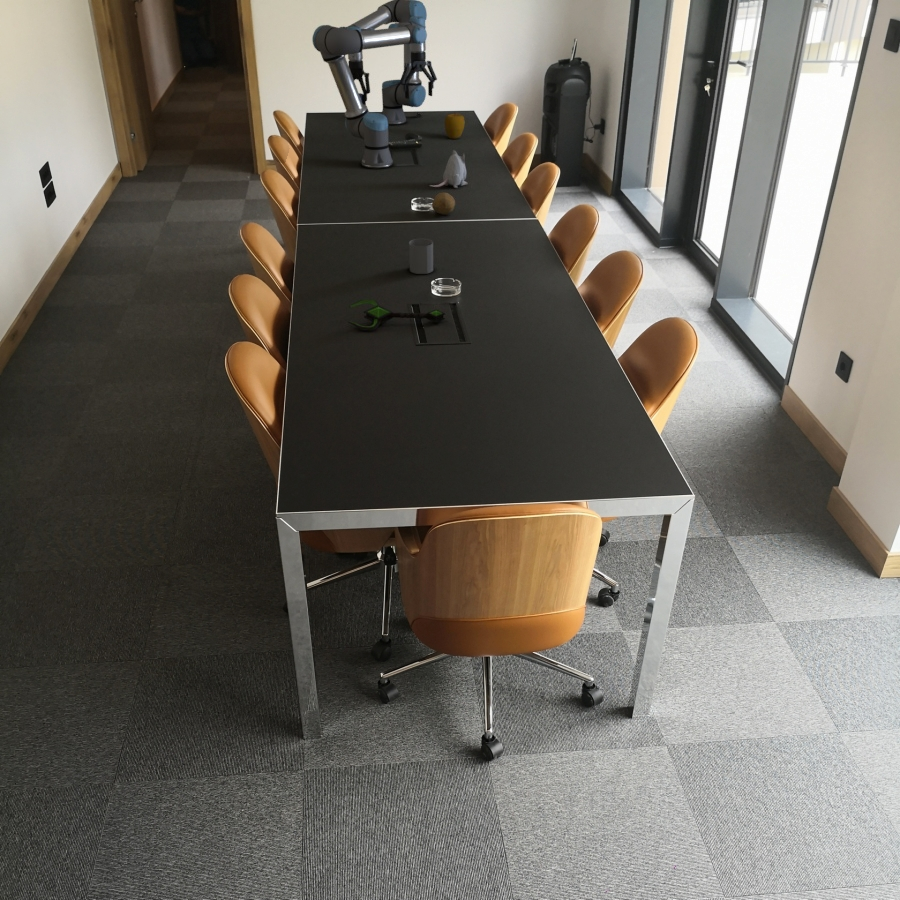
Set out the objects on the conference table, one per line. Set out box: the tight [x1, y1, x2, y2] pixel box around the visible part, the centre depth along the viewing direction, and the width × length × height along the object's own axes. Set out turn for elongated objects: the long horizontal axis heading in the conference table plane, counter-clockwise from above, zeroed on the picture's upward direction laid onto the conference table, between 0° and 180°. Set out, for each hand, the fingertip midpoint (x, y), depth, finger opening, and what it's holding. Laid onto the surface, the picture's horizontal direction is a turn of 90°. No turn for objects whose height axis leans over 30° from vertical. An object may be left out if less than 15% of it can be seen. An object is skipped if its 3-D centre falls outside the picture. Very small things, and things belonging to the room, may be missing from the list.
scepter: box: [348, 298, 446, 331], centre depth 269 cm, size 6×13×30 cm
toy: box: [428, 149, 468, 189], centre depth 390 cm, size 9×24×15 cm, turn 137°
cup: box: [408, 237, 434, 275], centre depth 305 cm, size 8×8×10 cm
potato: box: [431, 192, 456, 216], centre depth 360 cm, size 10×14×8 cm
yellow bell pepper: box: [444, 113, 466, 140], centre depth 472 cm, size 11×11×13 cm
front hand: (418, 97), depth 440 cm, fingers open, 13 cm apart
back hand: (358, 107), depth 460 cm, fingers closed on can, 6 cm apart
